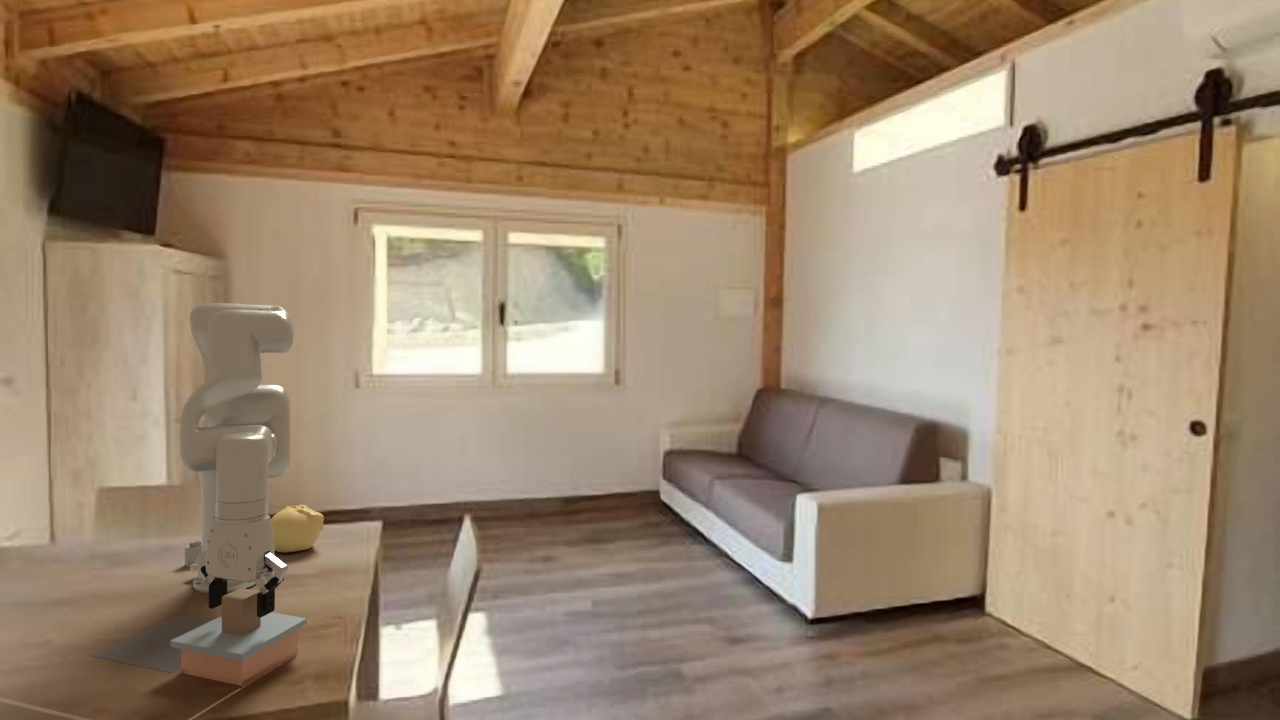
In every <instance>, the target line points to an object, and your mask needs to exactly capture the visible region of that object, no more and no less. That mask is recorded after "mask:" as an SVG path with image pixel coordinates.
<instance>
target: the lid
mask: <svg viewBox="0 0 1280 720" xmlns="http://www.w3.org/2000/svg"><path fill="white" fill-rule="evenodd" d="M258 593H260V590H256V589H251V588H250V589H249V588H240V589H238V590H235V591H230V592H228V593H227V595H224V596H222V605H221V615H220V616H218V617H217V618H214V619H213V620H209V621H210V622H208V623H206V624H204V625H202V626H200V627H198V628H196V629H193V630H191V631H189V632H187V633H185V634H183V635H181V636H179V637H177V638H175V639H173V640H171V641H170V647H174V648H179V649H184V650H189V651H194V652H199V653H205V654H210V655H215V656H220V657H225V658H230V659H235V660H240V661H243V660H245V659H247V658H248V657H250V656H252V655H254V654H255V653H257V652H259V651H261V650H262V649H264V648H266V647H268V646H269V645H271V644H273V643H275V642H276V641H278V640H280V639H282V638H283V637H285V636H287V635H289V634H290V633H292V632H294V631H296V630H297V629H298V630H299V629H301V628H302V627H304V626H306V625H307V624H308V623H307V622H308V619H307V617H300V616H295V615H289V614H282V613H277V612H271V613H269V614H267V615H265V616H263V617H258V616H257V594H258Z"/></svg>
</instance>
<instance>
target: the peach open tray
mask: <svg viewBox="0 0 1280 720" xmlns="http://www.w3.org/2000/svg"><path fill="white" fill-rule="evenodd" d="M298 642H299V629H297V630H296V631H294V632H292V633H290V634H289V635H287V636H285V637H283V638H282V639H280V640H278V641H276V642H275V643H273V644H271V645H269V646H268V647H266V648H264V649H262V650H261V651H259V652H257V653H255V654H254V655H252V656H250V657H248V658H247V659H245V660H243V661H240V660H235V659H230V658H225V657H220V656H215V655H210V654H205V653H199V652H194V651H189V650H184V649H181V668H180V673H181V674H184V675H189V676H193V677H199V678H203V679H208V680H213V681H217V682H218V681H219V682H223V683H227V684H231V685H235V686H236V685H237V686H239V689H243V688H245V687H246V686H248V685H250V684H252V682H254V681H256V680H259V678H261V677H262V676H265V675H266V674H268V673H269V672H271V671H273V670H274V669H276V668H277V667H279V666H281V665H282V664H284V663H286V662H287V661H289V660H290V659H291V658H294V657H295V656H297V655H299V654H298V653H299V652H298V649H299V647H298V646H299V643H298Z"/></svg>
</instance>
